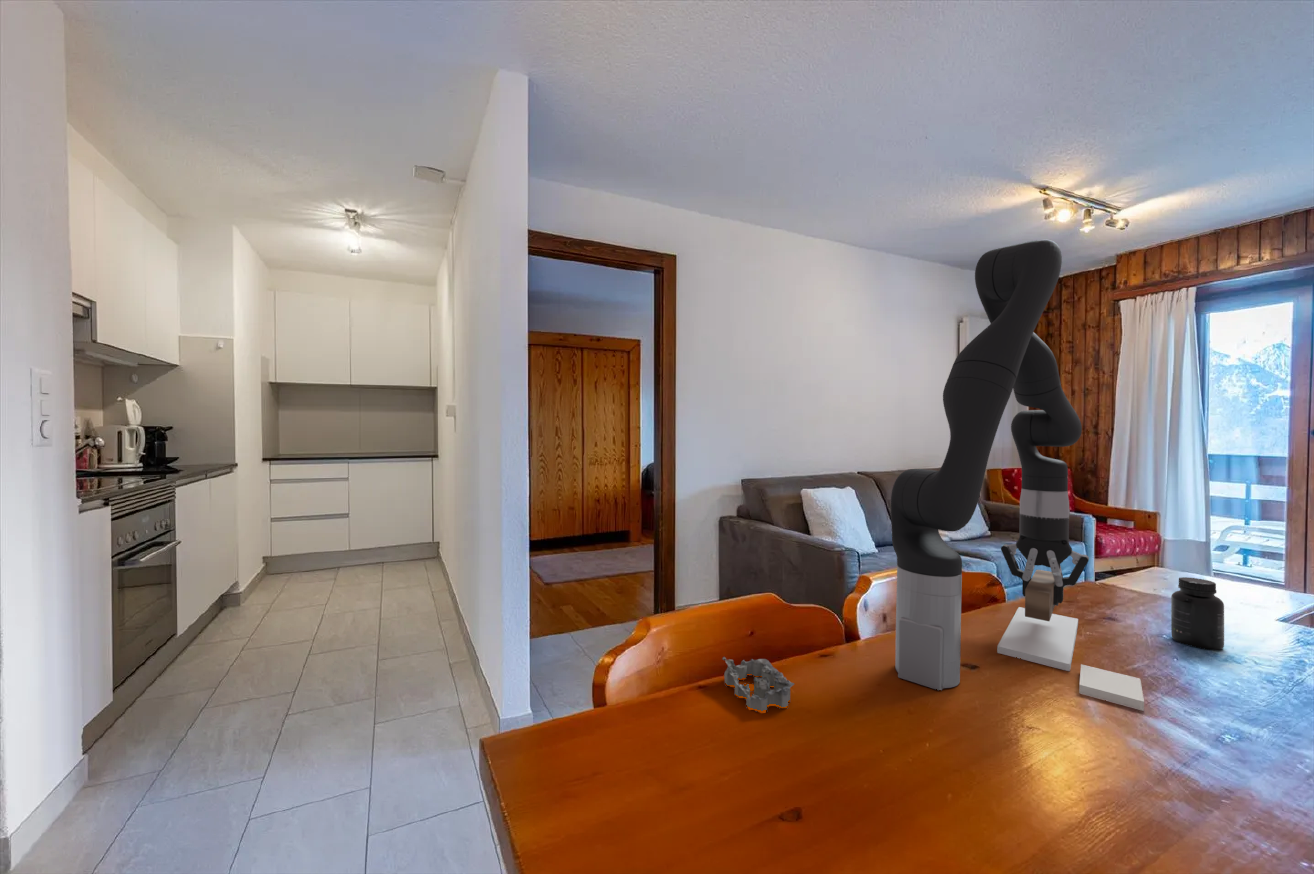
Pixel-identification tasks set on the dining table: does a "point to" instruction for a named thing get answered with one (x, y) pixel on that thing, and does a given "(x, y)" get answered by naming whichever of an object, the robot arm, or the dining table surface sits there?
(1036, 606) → the brown wooden block
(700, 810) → the dining table surface
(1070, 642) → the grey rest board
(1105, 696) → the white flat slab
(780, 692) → the cookie cutter
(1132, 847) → the dining table surface
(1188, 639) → the supplement bottle
